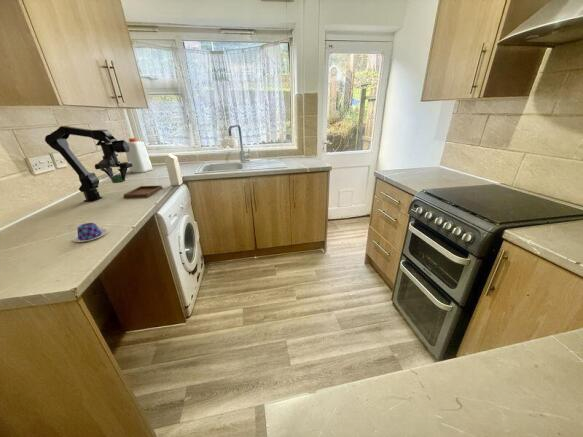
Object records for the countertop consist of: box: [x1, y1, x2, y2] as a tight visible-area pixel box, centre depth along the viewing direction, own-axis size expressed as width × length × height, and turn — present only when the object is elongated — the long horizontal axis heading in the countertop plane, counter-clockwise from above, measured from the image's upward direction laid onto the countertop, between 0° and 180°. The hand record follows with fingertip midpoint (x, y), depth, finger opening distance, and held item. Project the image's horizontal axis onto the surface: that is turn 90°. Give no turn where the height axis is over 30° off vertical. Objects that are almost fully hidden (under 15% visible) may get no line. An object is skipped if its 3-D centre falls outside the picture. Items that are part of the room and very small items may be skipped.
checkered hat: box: [71, 222, 108, 243], centre depth 101 cm, size 12×12×5 cm
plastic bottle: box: [125, 137, 154, 174], centre depth 213 cm, size 15×15×28 cm
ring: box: [110, 174, 126, 184], centre depth 144 cm, size 6×6×4 cm
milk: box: [164, 152, 184, 187], centre depth 170 cm, size 6×6×22 cm
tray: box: [122, 185, 163, 199], centre depth 157 cm, size 15×19×2 cm
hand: (118, 180), depth 145 cm, fingers closed on ring, 6 cm apart
